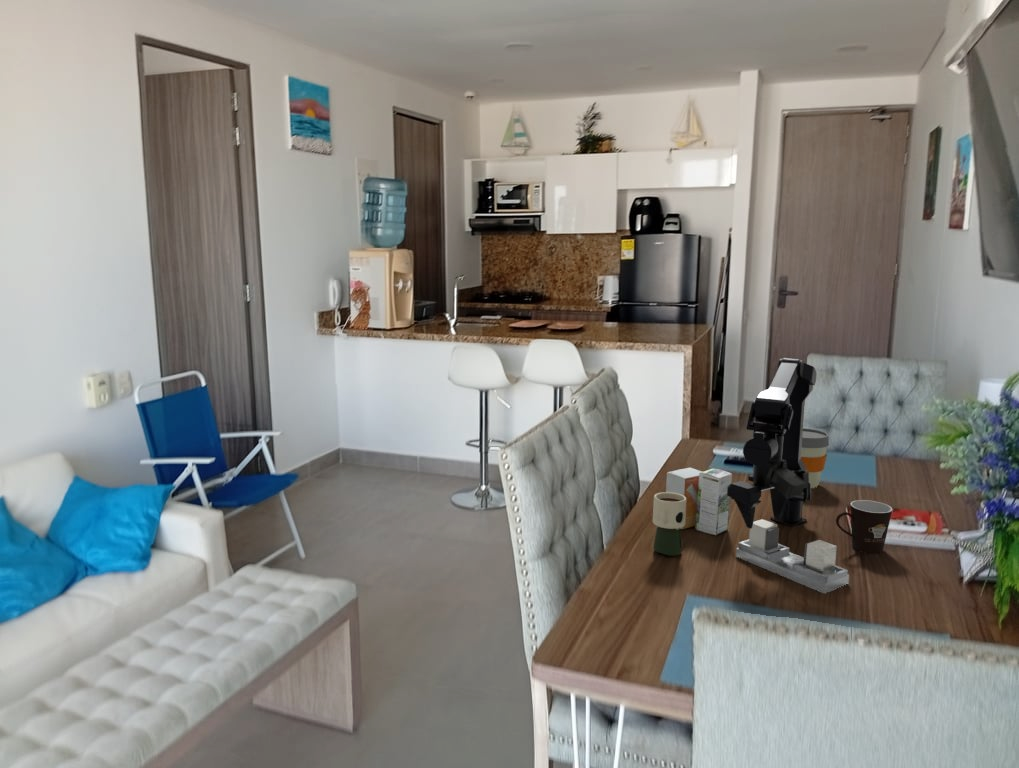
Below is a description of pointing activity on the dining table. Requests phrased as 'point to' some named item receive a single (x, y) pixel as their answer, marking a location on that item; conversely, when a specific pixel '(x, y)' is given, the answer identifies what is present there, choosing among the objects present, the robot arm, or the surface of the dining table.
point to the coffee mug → (868, 525)
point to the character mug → (669, 522)
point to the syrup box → (713, 501)
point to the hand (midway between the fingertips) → (763, 523)
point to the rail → (800, 564)
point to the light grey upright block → (764, 535)
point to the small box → (685, 490)
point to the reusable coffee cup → (814, 453)
